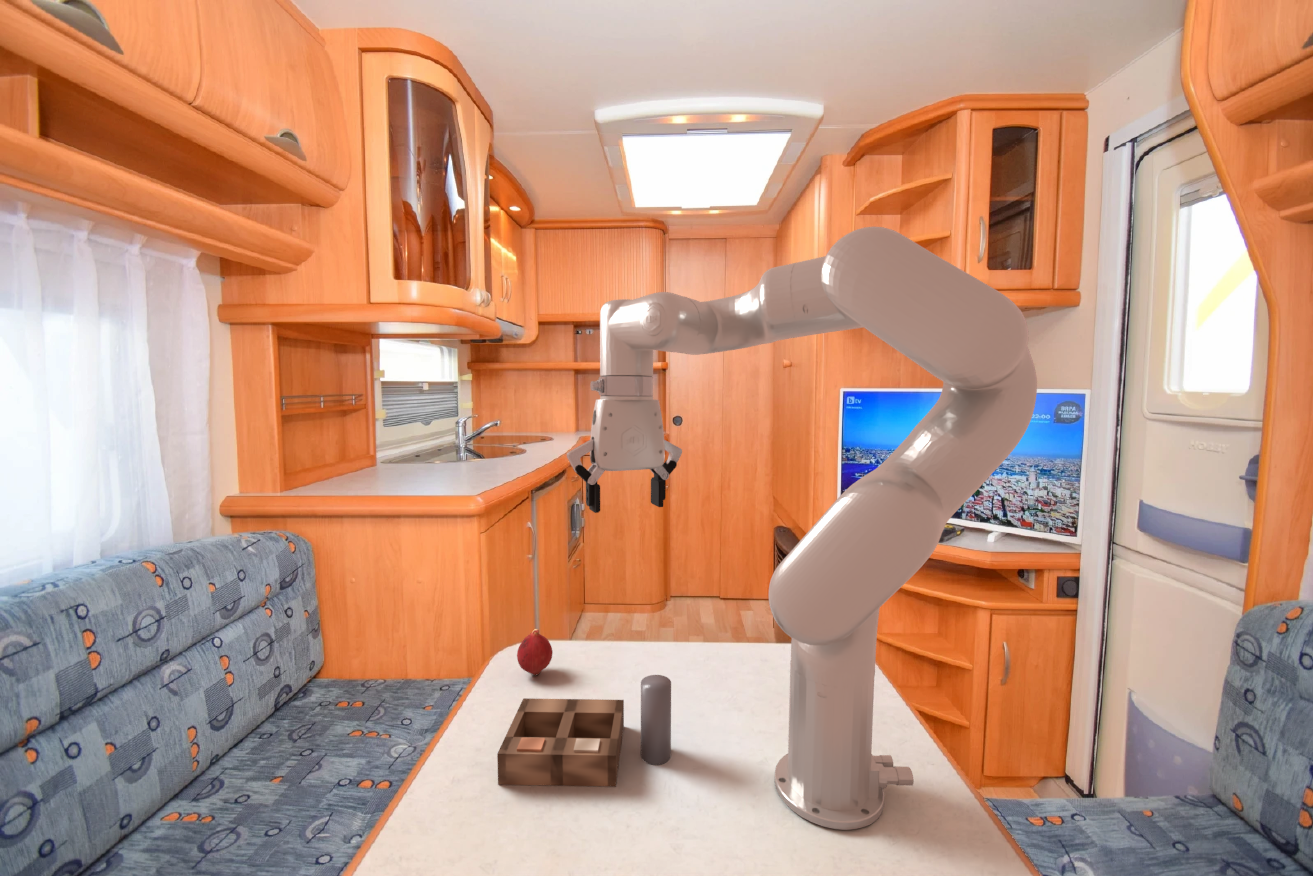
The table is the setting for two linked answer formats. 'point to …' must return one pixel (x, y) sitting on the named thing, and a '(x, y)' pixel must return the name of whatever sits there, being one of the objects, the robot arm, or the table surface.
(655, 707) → the plug
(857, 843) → the table surface
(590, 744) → the socket block
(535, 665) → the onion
